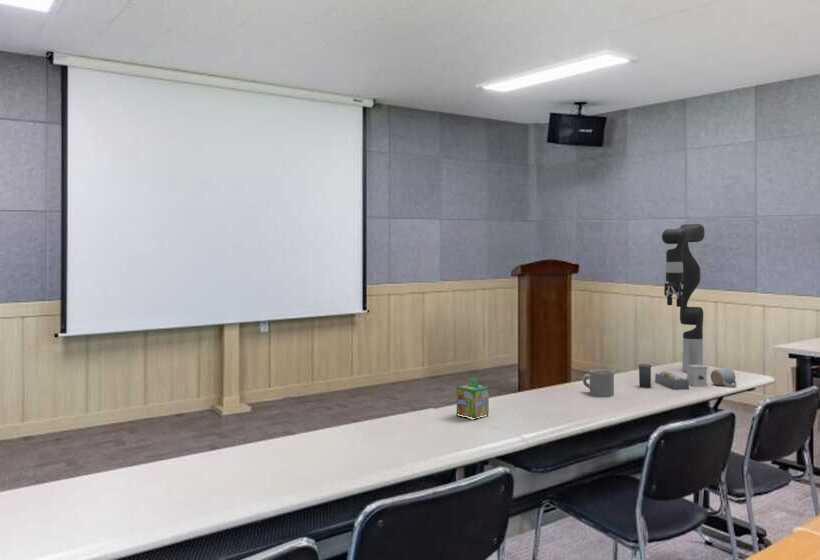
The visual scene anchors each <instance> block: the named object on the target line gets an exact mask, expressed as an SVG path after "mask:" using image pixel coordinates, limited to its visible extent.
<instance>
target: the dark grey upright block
mask: <svg viewBox="0 0 820 560" xmlns="http://www.w3.org/2000/svg"><path fill="white" fill-rule="evenodd" d="M638 381H639V385H638V386H639V388H641V387H643V388H642V389H650V388H652V365H651V364H650V363H640V364H638Z"/></svg>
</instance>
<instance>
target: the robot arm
mask: <svg viewBox="0 0 820 560" xmlns="http://www.w3.org/2000/svg"><path fill="white" fill-rule="evenodd" d="M704 238H705V228H704V225H703V224H700V223H688V224H687V223H686V224H684V223H683V224H681V226H680V228H679V227H678V228H668V229H665V230H664V231H663V232H662V234H661V239H662V242H663V243H664V244H666V245H676V246H675V247H674V248H670V249H667V250H666V255H665V256H666V258H665V263H666V264H665V282H667V283H664V291H663V295H664V297H666V305H667V306H673V296H674V295H675V298H676V307H677V308H680V309H679V321H680V322H679V323H680V324H681V325H685V326H686V325H689V326H695V327H694V328H692V329H690V330H687V331H684V332H683V333H682V356H681V357H682V359H681V360H682V362H681V364H682V365H681V366H682V367H681V368H682V370H681V371H683V372H684V373H687V367H686V365H698V364H700V365H703V366H704V360H703V359H704V354H703V353H704V350H703V349H704V344H703V343H704V340H703V337H704V334H703V332H704V330H703V329H704V328H703V326H704V309H703V308H702V307H701V306H688V303H689V300H690V298H691V296H692V295H693V293H694V291H695V290H696V289H697V287H698V286H699V284H700V282H701V267H700V265H699V264H698V261H697V260H696V258H695V257H694V256H693V255H692V252H691V250H690V248H689V243H698V242H699V243H700V242H702V241H703V240H704Z"/></svg>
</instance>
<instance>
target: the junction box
mask: <svg viewBox="0 0 820 560" xmlns="http://www.w3.org/2000/svg"><path fill="white" fill-rule="evenodd" d="M686 367H687V372H686V379H687V380H689V384H690V385H689V386H693V387H705V386H704V385H707V386H708V384H707V382H708V380H707V379H708V378H707V377H708V376H707V374H708V373H707V372H708V371H707V369H708V366H706V365H704V364H703V365H700V364H698V365H686Z"/></svg>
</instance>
